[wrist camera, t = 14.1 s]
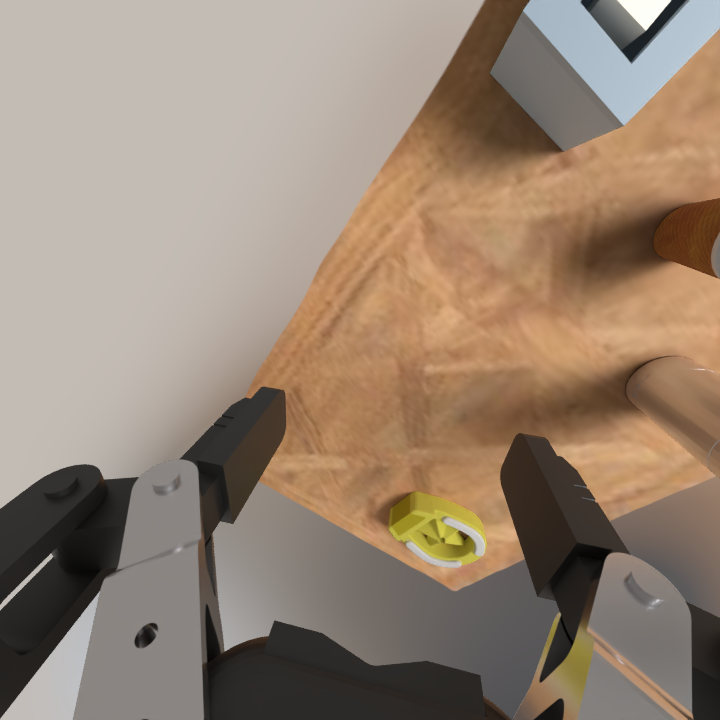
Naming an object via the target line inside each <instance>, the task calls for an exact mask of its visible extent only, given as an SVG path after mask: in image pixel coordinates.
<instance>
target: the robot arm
mask: <svg viewBox="0 0 720 720" xmlns="http://www.w3.org/2000/svg"><path fill="white" fill-rule="evenodd" d="M626 395H627V397H628V399H629V400H630V401H631V403H632V404H634V405H635V406H636V407H637V408H638V409H639V410H641V411H642V412H643V413H644V414H645V415H646V416H648V417H649V418H650V419H651V420H652V421H653V422H654V423H655V424H657V425H658V426H659V427H660V428H661V429H662V430H664V431H665V432H666V433H667V434H668V435H669V436H671V437H672V438H673V439H674V440H675V441H676V442H678V443H679V444H680V445H681V446H682V447H683V448H685V449H686V450H687V451H688V452H689V453H690V454H692V455H693V456H694V457H695V458H696V459H697V460H699V461H700V462H701V463H702V464H703V465H704V466H706V467H707V468H708V469H709V470H710V471H711V472H713V473H714V474H715V475H716V476H717V477H719V478H720V374H718V373H716V372H714V371H712V370H710V369H708V368H706V367H705V366H703V365H701V364H699V363H697V362H695V361H693V360H691V359H688V358H685V357H679V356H670V357H664V358H660V359H656V360H653V361H651V362H649V363H647V364H645V365H644V366H642V367H641V368H639V369H638V370H637V371H636V372H635V373H634V374H633V375H632V376H631V378H630V379H629V381H628V383H627V387H626ZM285 429H286V402H285V392H284V390H280V389H274V388H268V387H261V388H260V389H259V390H258V391H257V393H256V394H255V395H254V396H253V397H252V398H251V399H249V398H244V399H242V400H240V401H238V402H237V403H235V404H233V405H231V406H230V407H229V409H228V410H227V411H226V412H225V413H224V414H223V415H222V417H220V418H219V419H218V420H217V421H216V422H215V423H214V425H213V426H211V427H210V428H209V429H208V430H207V431H206V432H205V433H204V435H203V436H201V438H200V439H199V440H198V441H197V442H196V443H195V444H194V445H193V446H192V447H191V448H190V449H189V450H188V451H187V452H186V453H185V454H184V455H183V457H181V458H180V459H178V460H171V461H166V462H163V463H160V464H158V465H156V466H154V467H152V468H150V469H149V470H147V471H146V472H145V473H143V474H142V475H141V476H140V477H135V478H122V479H107V480H104V479H103V476H102V474H101V472H100V470H99V469H98V468H97V467H95V466H93V465H86V464H84V465H74V466H70V467H66V468H63V469H60V470H58V471H55V472H53V473H51V474H49V475H47V476H45V477H43V478H42V479H40V480H39V481H37V482H36V483H34V484H33V485H31V486H30V487H29V488H28V489H26V490H25V491H23V492H22V493H21V494H19V495H18V496H17V497H15V498H14V499H13V500H12V501H10V502H9V503H7V504H6V505H5V506H4V507H2V508H1V509H0V604H1V603H2V602H3V600H4V599H5V598H6V597H7V596H8V595H9V594H10V593H11V592H12V591H13V590H14V589H15V588H16V587H17V586H18V585H19V584H20V583H21V582H22V581H23V580H24V579H25V578H26V577H27V576H28V575H29V574H30V573H31V572H32V571H33V570H34V569H35V568H36V567H37V566H38V565H39V564H40V563H42V561H43V560H44V559H46V558H47V557H48V556H49V555H50V553H52V555H53V558H52V559H51V560H50V561H49V562H48V563H47V564H46V565H45V566H44V567H43V568H42V569H41V570H40V571H39V572H38V573H37V574H36V575H35V576H34V577H33V578H32V579H31V580H30V581H29V582H28V583H27V584H26V585H25V586H24V587H23V588H22V589H21V590H20V591H19V592H18V593H17V594H16V595H15V596H14V597H13V598H12V599H11V600H10V601H9V602H8V603H7V605H5V606H4V607H3V608H2V609H1V611H0V718H1V717H2V716H3V714H4V713H5V712H6V711H7V709H8V708H9V707H10V705H11V704H12V703H13V702H14V700H15V699H16V698H17V696H18V695H19V694H20V693H21V691H22V690H23V689H24V687H25V686H26V685H27V684H28V682H29V681H30V680H31V678H32V677H33V676H34V675H35V673H36V672H37V671H38V670H39V668H40V667H41V666H42V664H43V663H44V662H45V660H46V659H47V658H48V657H49V655H50V654H51V653H52V652H53V650H54V649H55V648H56V646H57V645H58V644H59V643H60V641H61V640H62V639H63V637H64V636H65V635H66V634H67V632H68V631H69V630H70V628H71V627H72V626H73V625H74V623H75V622H76V621H77V619H78V618H79V617H80V616H81V614H82V613H83V612H84V610H85V609H86V608H87V607H88V605H89V604H90V603H91V601H92V600H93V599H94V598H95V596H96V595H97V594H98V593H99V591H100V595H99V599H98V604H97V608H96V613H95V618H94V622H93V627H92V632H91V636H90V642H89V646H88V651H87V655H86V660H85V665H84V669H83V675H82V679H81V684H80V688H79V693H78V698H77V702H76V707H75V712H74V717H73V720H511V719H510V718H509V717H508V716H507V715H506V714H505V713H504V712H503V711H502V710H501V709H500V708H498V707H497V706H496V705H495V704H493V703H492V702H491V701H490V700H489V699H487V698H485V697H484V696H483V692H482V685H481V678H480V675H477V674H473V673H470V672H466V671H462V670H458V669H454V668H451V667H447V666H443V665H440V664H436V663H432V662H428V661H423V662H412V663H402V664H391V665H382V666H373V665H369V664H368V663H366V662H364V661H363V660H361V659H360V658H358V657H357V656H355V655H354V654H352V653H351V652H349V651H348V650H346V649H345V648H343V647H342V646H340V645H339V644H337V643H336V642H334V641H333V640H331V639H330V638H328V637H327V636H325V635H324V634H322V633H319V632H316V631H312V630H308V629H304V628H301V627H297V626H293V625H289V624H285V623H282V622H278V621H274V623H273V626H272V629H271V632H270V635H269V636H267V637H260V638H256V639H252V640H249V641H246V642H243V643H241V644H239V645H236V646H234V647H232V648H230V649H229V650H227V651H224V641H223V632H222V624H221V618H220V611H219V603H218V592H217V580H216V567H215V556H214V543H213V534H212V533H213V531H214V530H215V528H216V527H217V525H218V523H219V522H220V521H222V522H227V523H231V524H233V523H234V521H235V520H236V518H237V516H238V515H239V513H240V511H241V510H242V508H243V506H244V504H245V503H246V501H247V499H248V497H249V496H250V494H251V493H252V491H253V489H254V487H255V486H256V484H257V482H258V481H259V479H260V477H261V475H262V474H263V472H264V470H265V469H266V467H267V465H268V464H269V462H270V460H271V458H272V457H273V455H274V453H275V452H276V450H277V448H278V447H279V445H280V443H281V441H282V439H283V437H284V434H285ZM500 480H501V486H502V489H503V492H504V495H505V498H506V501H507V504H508V507H509V511H510V514H511V517H512V520H513V523H514V526H515V529H516V532H517V535H518V538H519V541H520V545H521V548H522V551H523V554H524V557H525V560H526V563H527V566H528V569H529V572H530V576H531V579H532V582H533V585H534V588H535V591H536V594H537V597H541V598H546V599H550V600H554V601H556V602H557V605H558V608H559V611H560V612H559V613H558V614H557V616H556V618H555V620H554V623H553V626H552V629H551V631H550V634H549V637H548V640H547V642H546V645H545V648H544V651H543V654H542V657H541V659H540V662H539V665H538V668H537V670H536V673H535V676H534V679H533V681H532V684H531V686H530V689H529V691H528V693H527V695H526V696H525V698H524V700H523V701H522V703H521V705H520V706H519V708H518V710H517V712H516V714H515V716H514V719H513V720H720V618H718V617H717V616H715V615H713V614H711V613H708V612H706V611H704V610H702V609H700V608H698V607H696V606H694V605H692V604H689V603H687V602H686V601H685V600H684V599H683V597H682V596H681V594H680V593H679V592H678V590H677V589H676V588H675V587H674V586H673V585H672V583H670V581H669V580H668V579H666V578H665V577H664V576H663V575H662V574H661V573H660V572H658V571H657V570H656V569H654V568H653V567H652V566H650V565H649V564H647V563H645V562H644V561H642V560H640V559H638V558H636V557H634V556H631V555H630V553H629V551H628V550H627V549H626V547H625V545H624V544H623V542H622V541H621V539H620V537H619V536H618V534H617V533H616V531H615V529H614V528H613V526H612V525H611V523H610V522H609V520H608V519H607V517H606V515H605V514H604V512H603V511H602V509H601V508H600V506H599V504H598V503H596V502H595V498H594V497H593V495H592V493H591V492H590V490H589V489H587V486H586V484H585V482H584V481H583V479H582V478H581V476H580V475H579V473H578V471H577V470H576V469H575V468H573V467H572V466H571V465H570V464H569V463H568V462H567V461H566V460H565V459H564V458H563V457H560V456H557V455H556V453H555V452H554V450H553V448H552V446H551V445H550V443H549V441H548V440H547V439H546V438H544V437H539V436H533V435H528V434H522V433H519V434H517V435H516V436H515V438H514V440H513V443H512V445H511V447H510V449H509V452H508V454H507V456H506V458H505V461H504V463H503V465H502V468H501V474H500ZM116 569H117V570H116Z"/></svg>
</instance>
